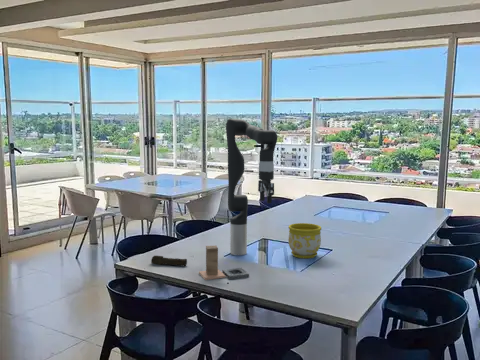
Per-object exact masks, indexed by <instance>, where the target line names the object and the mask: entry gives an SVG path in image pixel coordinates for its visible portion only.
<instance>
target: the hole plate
mask: <svg viewBox="0 0 480 360" xmlns="http://www.w3.org/2000/svg"><path fill="white" fill-rule="evenodd" d="M221 272H222V273H223V274H224V275H225V278H227V279H228V280H234V279H235V280H237V279H244V278H249V277H250V273H248V272H247V271H246V270H245V269H244V268H242V267H237V268H228V269H226V268H225V269H222V271H221Z"/></svg>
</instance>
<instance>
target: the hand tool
mask: <svg viewBox="0 0 480 360" xmlns="http://www.w3.org/2000/svg"><path fill="white" fill-rule="evenodd" d="M150 260H151V261H150V262H151V264H153V265H158V266H161V265H170V266H171V265H172V266H182V267H184V268H186V267H187V265H188V259H187V258H179V257H178V258H176V257H175V258H171V257H164V256H163V255H153V256H152V258H151V259H150Z"/></svg>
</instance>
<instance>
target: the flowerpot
mask: <svg viewBox="0 0 480 360" xmlns="http://www.w3.org/2000/svg"><path fill="white" fill-rule="evenodd" d="M321 230H322V226H321V225H318V224H315V223H309V222H308V223H307V222H305V223H304V222H299V223H298V222H297V223H292V224H289V225H288V239H287V240H288V246H289V249H290V251H291V254H292V256H293V257H295V258H299V259H314V258H315V257H316V256H317V255H318V252H319V249H320V247H321V245H322V239H321V238H322V237H321V233H322V232H321Z"/></svg>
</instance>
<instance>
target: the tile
mask: <svg viewBox="0 0 480 360" xmlns="http://www.w3.org/2000/svg"><path fill="white" fill-rule="evenodd" d="M198 274H199V276H200V277H202V278H203V279H204V281H208V280H218V279H225V278H226V276H225V275H224V274H223V273H222V271H221V270H220V269H219V268H218V275H207V273H206V270H201V271H198Z"/></svg>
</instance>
